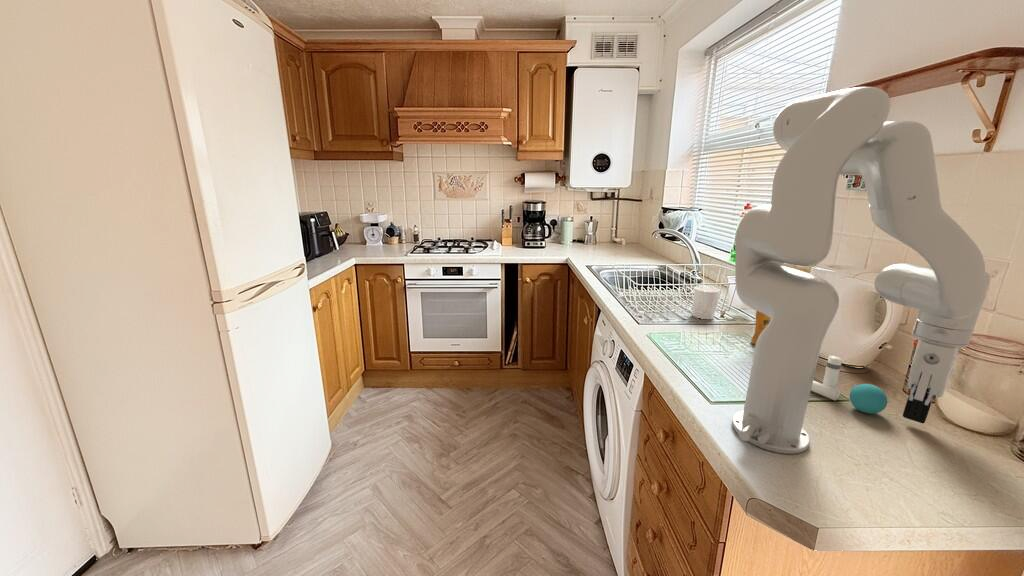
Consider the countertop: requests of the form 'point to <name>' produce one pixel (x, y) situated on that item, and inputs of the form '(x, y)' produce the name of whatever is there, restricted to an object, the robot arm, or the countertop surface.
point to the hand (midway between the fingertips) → (913, 418)
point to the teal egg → (868, 398)
